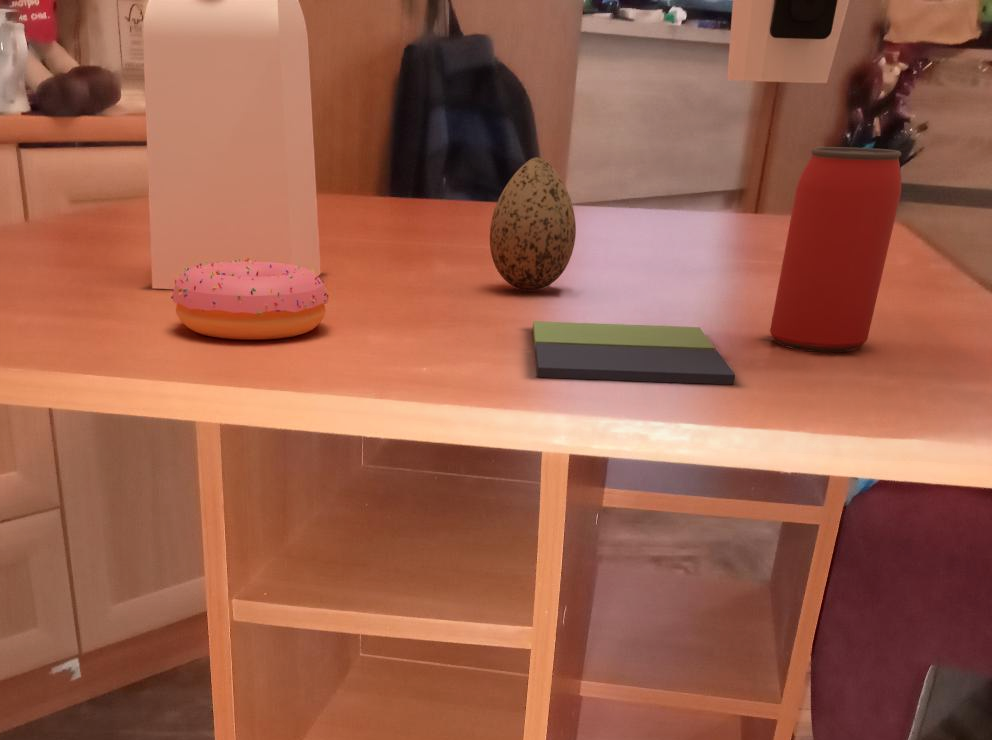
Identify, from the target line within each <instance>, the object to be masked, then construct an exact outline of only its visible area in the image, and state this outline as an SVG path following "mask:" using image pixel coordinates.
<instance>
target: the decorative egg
mask: <svg viewBox="0 0 992 740" xmlns="http://www.w3.org/2000/svg"><path fill="white" fill-rule="evenodd" d="M572 202H573V201H572V199H571V196H570V194H569V192H568V189H567V187H566V185H565V183H564V181H563V179H562V177H561V176H560V175H559V173H558V172H557V170H556V169H555V167H553V165H551V164H550V162H549V161H547V160H546V159H545V158H542V157H538V156H536V157H533V158H530V159H529V160H527V161H526V162H525V163H524V164H522V165H521V166H520V167H519V169H518V170H517V171H516V172H515V173H514V174H513V175H512V176H511V178H510V179H509V181H508V182H507V184H506V185H505V187H504V189H503V190H502V192H501V194H500V195H499V197H498V200H497V202H496V204H495V207H494V209H493V213H492V217H491V221H490V229H489V249H490V254H491V258H492V261H493V264H494V267H495V268H496V270H497V272H498V273H499V275H500V277H501V278H502V279H503V280H504V281H505V282H506V283H507V284H509V285H510V286H512V287H514V288H515V289H518V290H519V291H525V292H535V291H539V290H543V289H545V288H547V287H548V286H550V285H552V284H553V283H554V282H556V281H557V280H558V279H559V278H560V277H561V276H562V274H563V273H564V272H565V270H566V269H567V266H568V265H569V262H570V261H571V257H572V256H573V251H574V247H575V242H576V235H577V227H576V226H577V225H576V223H577V222H576V217H575V216H576V215H575V211H574V207H573V203H572Z"/></svg>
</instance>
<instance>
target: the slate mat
mask: <svg viewBox="0 0 992 740" xmlns="http://www.w3.org/2000/svg"><path fill="white" fill-rule="evenodd" d="M534 357H535V367H536V375H537V376H536V377H537V378H553V379H578V380H580V379H581V380H607V381H627V382H632V381H633V382H655V383H680V384H681V383H683V384H708V385H709V384H711V385H734V384H735V381H736V374H735V372H734V371H733V370H732V368H731V367H730V365H729V364H728V363H727V362H726V360H725V358H723V356H722V354H720V352H719V351H718V350H717V349H715V350H697V349H670V348H643V347H615V346H588V345H561V344H536V345H535V348H534Z"/></svg>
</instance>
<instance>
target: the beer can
mask: <svg viewBox="0 0 992 740" xmlns="http://www.w3.org/2000/svg"><path fill="white" fill-rule="evenodd" d="M810 153H811V156H810V158H809V160H808V162H807V163H806V165H805V167H804V169H803V171H802V173H801V174H800V177H799V180H798V182H797V185H796V189H795V192H794V193H795V194H794V200H793V206H792V210H791V211H792V212H791V215H790V219H789V227H788V232H787V238H786V242H785V247H784V253H783V257H782V264H781V270H780V275H779V280H778V286H777V291H776V296H775V302H774V307H773V314H772V319H771V324H770V327H769V328H770V329H769V332H770V335H771V337H772V339H773V340H774V341H775V343H777V344H779V345H781V346H784V347H787V348H789V349H790V348H791V349H795V350H801V351H809V352H816V353H817V352H818V353H819V352H820V353H843V352H851V351H854V350H856V349H859V348H861V347H862V346H863V345H864V344H865V343H866V342H867V340H868V339H869V333H870V330H871V326H872V321H873V317H874V312H875V308H876V304H877V299H878V294H879V290H880V285H881V281H882V278H883V273H884V269H885V264H886V258H887V256H888V252H889V251H888V250H889V246H890V242H891V239H892V235H893V234H892V233H893V230H894V225H895V220H896V217H897V212H898V207H899V203H900V198H901V195H902V172H901V165H900V157H901V156H902V152H901V151H900V150H895V149H885V148H873V147H872V148H871V147H846V146H843V147H842V146H827V147H826V146H820V147H814V148H812V149H811V150H810Z"/></svg>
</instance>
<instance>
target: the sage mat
mask: <svg viewBox="0 0 992 740" xmlns="http://www.w3.org/2000/svg"><path fill="white" fill-rule="evenodd" d="M532 337H533V338H532V339H533V347H534V348H533V349H535V345H536V344H561V345H588V346H615V347H643V348H670V349H697V350H716V347H715V346H714V344H713V343H712V341H711V340H710V339H709V337H708V336H707V335H706V334H705V332H704V330H702V328H701V327H700V326H681V325H680V326H677V325H676V326H675V325H651V324H650V325H648V324H623V323H622V324H621V323H597V322H596V323H595V322H592V323H591V322H565V321H564V322H563V321H535V320H533V322H532Z"/></svg>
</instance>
